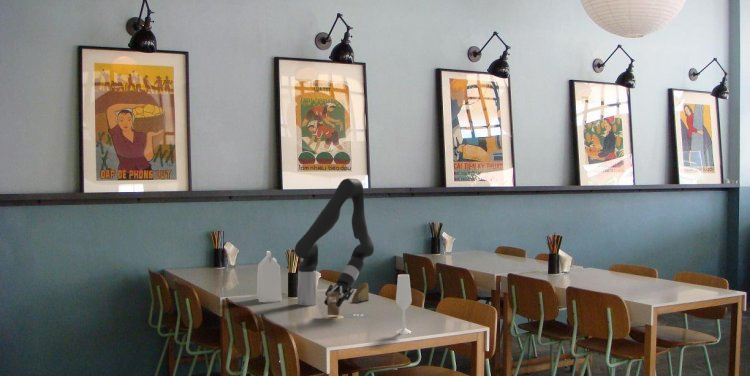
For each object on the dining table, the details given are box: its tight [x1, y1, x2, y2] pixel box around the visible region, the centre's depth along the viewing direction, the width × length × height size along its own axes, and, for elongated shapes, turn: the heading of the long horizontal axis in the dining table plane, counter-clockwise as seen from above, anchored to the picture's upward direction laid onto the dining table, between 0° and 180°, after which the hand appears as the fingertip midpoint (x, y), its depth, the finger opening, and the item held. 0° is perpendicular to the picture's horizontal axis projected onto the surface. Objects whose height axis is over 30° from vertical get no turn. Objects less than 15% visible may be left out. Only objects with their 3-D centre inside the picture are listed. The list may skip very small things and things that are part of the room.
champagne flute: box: [395, 273, 413, 335], centre depth 305 cm, size 7×7×24 cm
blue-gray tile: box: [344, 312, 373, 319], centre depth 342 cm, size 12×12×1 cm
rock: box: [351, 282, 370, 303], centre depth 384 cm, size 11×9×10 cm
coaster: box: [323, 314, 344, 320], centre depth 337 cm, size 9×9×1 cm
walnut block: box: [326, 292, 341, 316], centre depth 337 cm, size 5×5×10 cm
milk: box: [256, 250, 283, 303], centre depth 388 cm, size 12×12×26 cm
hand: (331, 305), depth 335 cm, fingers closed on walnut block, 7 cm apart
